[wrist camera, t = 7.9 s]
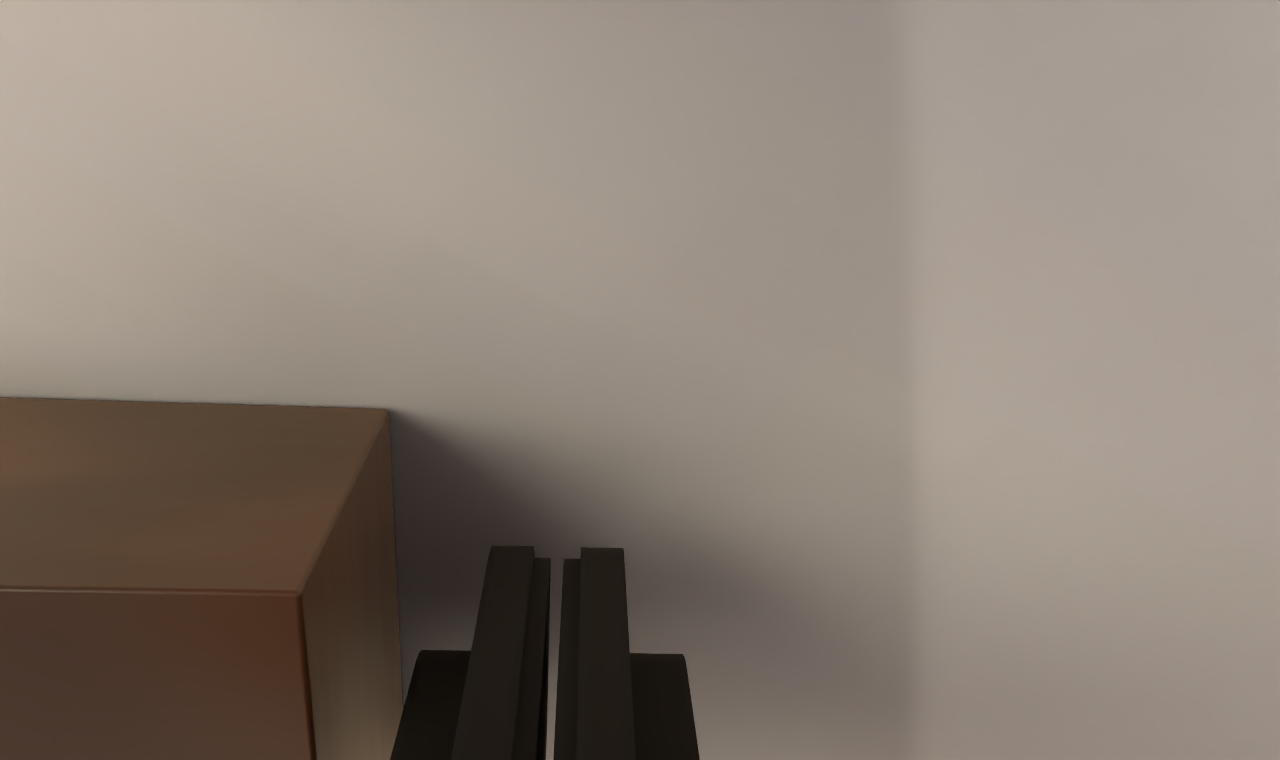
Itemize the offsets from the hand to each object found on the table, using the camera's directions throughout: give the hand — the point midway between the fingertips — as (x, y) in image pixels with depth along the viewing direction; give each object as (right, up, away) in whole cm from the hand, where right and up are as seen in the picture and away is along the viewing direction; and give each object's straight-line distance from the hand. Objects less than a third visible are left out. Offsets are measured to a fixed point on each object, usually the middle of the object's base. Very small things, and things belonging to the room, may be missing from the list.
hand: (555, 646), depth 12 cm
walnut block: (-5, +1, +1) cm, 5 cm away
